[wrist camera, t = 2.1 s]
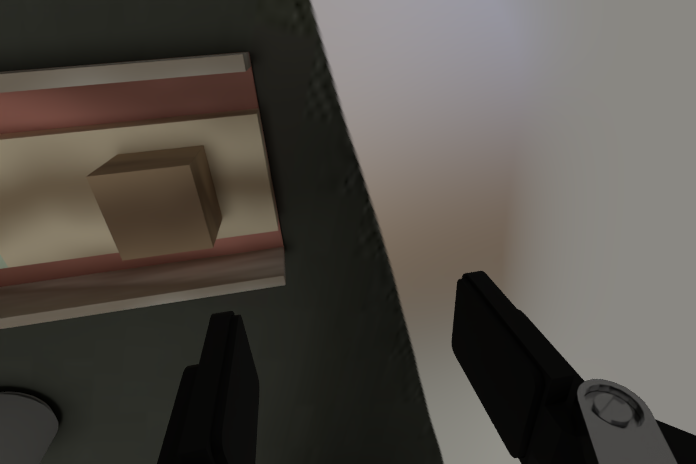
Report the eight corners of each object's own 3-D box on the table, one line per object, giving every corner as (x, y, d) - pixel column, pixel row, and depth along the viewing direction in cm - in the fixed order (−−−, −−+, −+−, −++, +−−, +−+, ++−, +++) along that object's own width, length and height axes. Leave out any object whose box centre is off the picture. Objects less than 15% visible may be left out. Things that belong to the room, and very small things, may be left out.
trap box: (284, 252, 29) (285, 293, 25) (-58, 301, 27) (-132, 359, 22) (249, 51, 22) (240, 55, 18) (-221, 89, 20) (-383, 106, 15)
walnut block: (222, 218, 25) (213, 248, 21) (145, 228, 24) (122, 260, 21) (203, 145, 22) (189, 164, 19) (116, 154, 22) (85, 176, 18)
